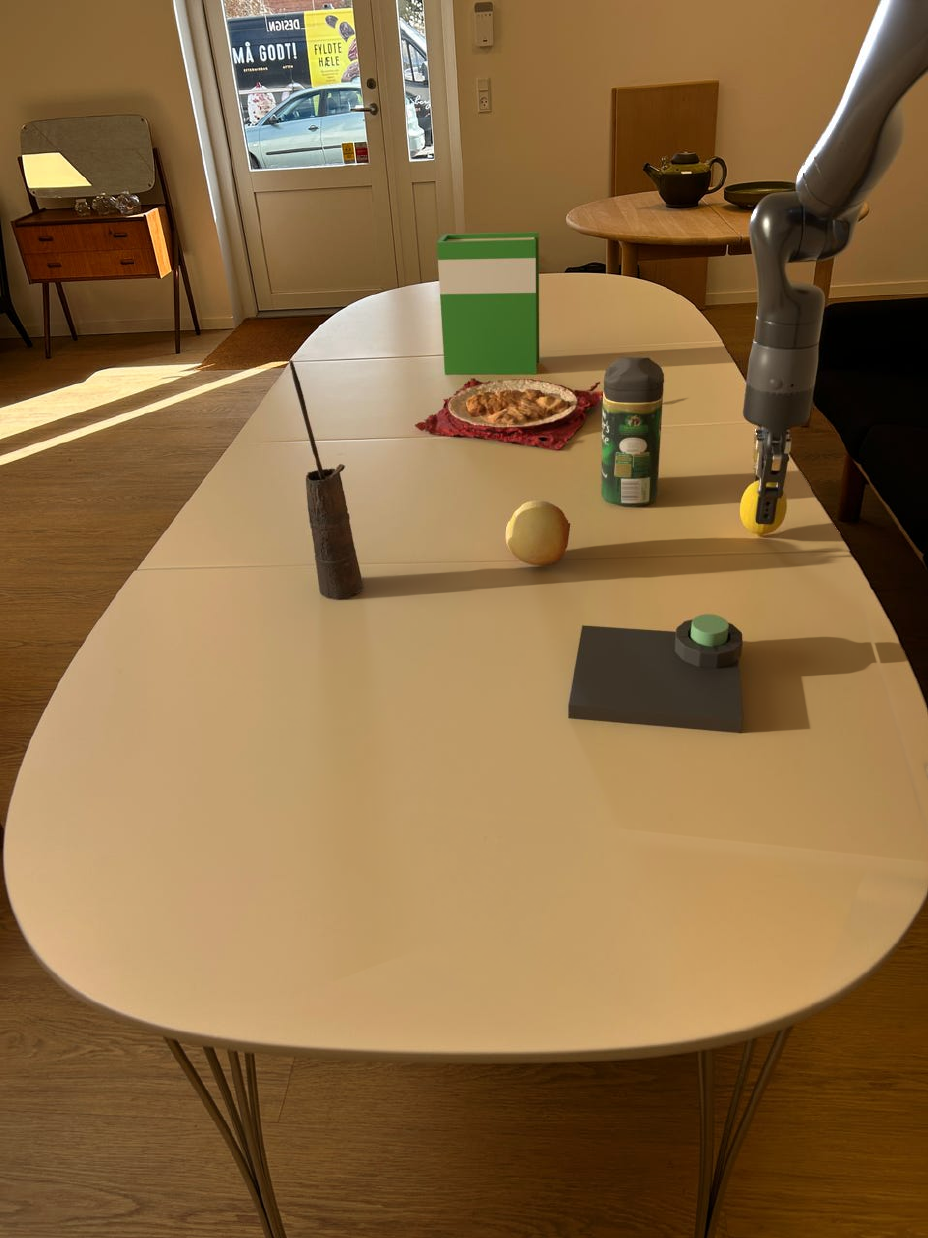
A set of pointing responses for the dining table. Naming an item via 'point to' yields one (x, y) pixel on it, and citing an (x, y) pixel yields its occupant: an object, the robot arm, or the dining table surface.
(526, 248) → the hardback book
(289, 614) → the dining table surface
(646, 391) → the coffee jar
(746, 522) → the lemon
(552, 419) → the plate with food
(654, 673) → the dark grey button base
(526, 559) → the fruit
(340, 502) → the butter churn
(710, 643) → the button
